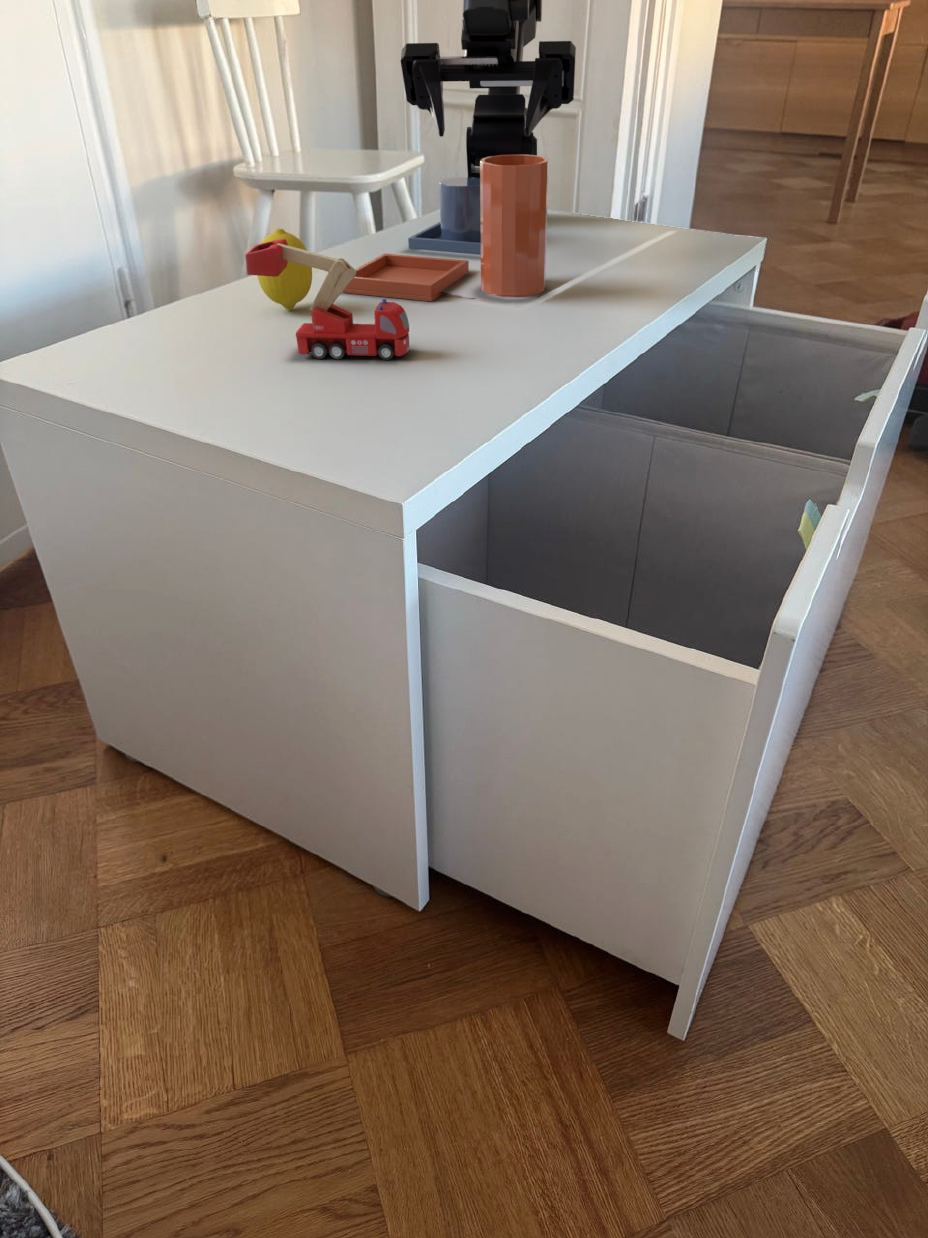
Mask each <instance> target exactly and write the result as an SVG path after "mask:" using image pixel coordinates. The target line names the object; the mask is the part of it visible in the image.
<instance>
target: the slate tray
mask: <svg viewBox="0 0 928 1238" xmlns="http://www.w3.org/2000/svg"><path fill="white" fill-rule="evenodd" d="M407 242H408V243H407V244H408V249H411V250H420V251H421V250H422V251H432V252H443V253H454V254H455V253H456V254H466V255H467V254H468V255H477V256H478V255H479V256H481V243H477V242H465V241H453V240H441V221H439V222H437V223H434V224H433V225H431V226H429V227H427V228H425V229H423V230H421V231H419V232H417V233H415V234H414V235H412V236H409V237H408V238H407Z"/></svg>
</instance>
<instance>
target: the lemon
mask: <svg viewBox="0 0 928 1238" xmlns="http://www.w3.org/2000/svg"><path fill="white" fill-rule="evenodd" d="M278 239H286V241H287V243H288V246H291V247H295V248H298V249H302V250H306V251H308V249H307V248H306V245H304V243H303V242H302V241H301V239H300V238H298V237H297V236H296V235H294V234H292V233H290V232H288V231H286V230H284V228H281V227H279V228H275V230H274V232H272V233H270V234H269V235H267V236H266V237H265V238H264V239H263V240H262V242H260V244H262V243H266V242H269V241H274V240H278ZM257 279H258V283H259V286H260V288H261V290H262V292H263V293H264V295H266V296H267V298H268V299H269V300H271V301H272V302H274V303H276V304H279V305H281V307H283V308H284V309H285V310H287V311H290V310H293V309H294V307H295V306H296V305H297V304H298V303H300V302H302V301H303V300H304V299H305V298H306V297H307V296H308V294H309V292H310V290H311V287H312V282H313V267H309V266H305V265H302V264H298V263H294V262H290V261H288V263H287V267H286V268H285V269H284V270H283V271H282V273H280V275H279V276H278V277H271V276H257Z"/></svg>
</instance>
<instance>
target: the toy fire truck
mask: <svg viewBox="0 0 928 1238" xmlns="http://www.w3.org/2000/svg"><path fill="white" fill-rule="evenodd" d="M261 243H262V242H261ZM261 243H258V244H255V245H253V247H252V248H251V249H250V250H249V251H247V252H246V253H245V255H244V257H245V266H246V275H247V276H257V277H258V276H271V277H278V276H279V275H280V273H282V271H283V270H284V269H285V268H286V267H287V263H288V261H290V262H294V263H298V264H302V265H305V266H309V267H312V269H313V268H314V269H317V270H320V271H323V272H324V271H325V272H327V275H326V276H325V279H324V281H323V283H322V285H321V286H320V288H319V291H318V292H317V294H316V297H315V298H314V300H313V302H312V304H311V306H310V308H309V311H310V312H311V322H304V323H302V324H301V326H300V327H299V328H298V330H296V332H295V338H296V345H297V352H298V354H300V355H309V354H310V353H311V355H312V356H313V357H314V358H316V359H319V360H322V359H324V358H325V357H326V356H327V355H328V354H329V355H330V356H331V358H333V359H335V360H341V359H343V357H344V356H345V354H347V356H358V357H359V356H360V357H361V356H363V357H364V356H365V357H367V356H368V357H369V356H371V357H374V356H375V357H376V356H379V357H380V358H381V359H382V360H384V361H389V360H391V359H393V357H394V356H395V357H402V356H404V355H405V354H407V353H408V352H409V351H410V333H409V332H410V323H409V318H408V315H407V312H406V310H405V309H404V307H403V306H402V305H400V304H399V303H397V302H395V301H387V299H386V298H382V299H381V300H382V301H379V303H378V304H377V306H376V307H375V309H374V312H373V313H374V315H373V316H374V323H354V317H353V312H351V311H349V310H347V309H345V308H342V307H341V306H338V305H336V304H334V303H335V301H336V300H337V299H338V298H339V297H340V296H341V294H342V293H343V290H344V289H345V288H346V287H347V285H348V284H349V283H350V282H351V280H352V279H353V278H354V276H355V275H356V270H355V269H356V268H354V267H353V266H352V265H351V264H350V263H349V262H348V261H347V260H345V259H344V258H342V257H339V258H336V257H332V256H328V255H324V254H320V253H317V252H313V251H310V250H307V249H306V250H307V251H306V250H302V249H298V248H295V247H291V246H288V243H287V241H286V239H278V240H274V241H269V242H266V243H262V244H261Z"/></svg>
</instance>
